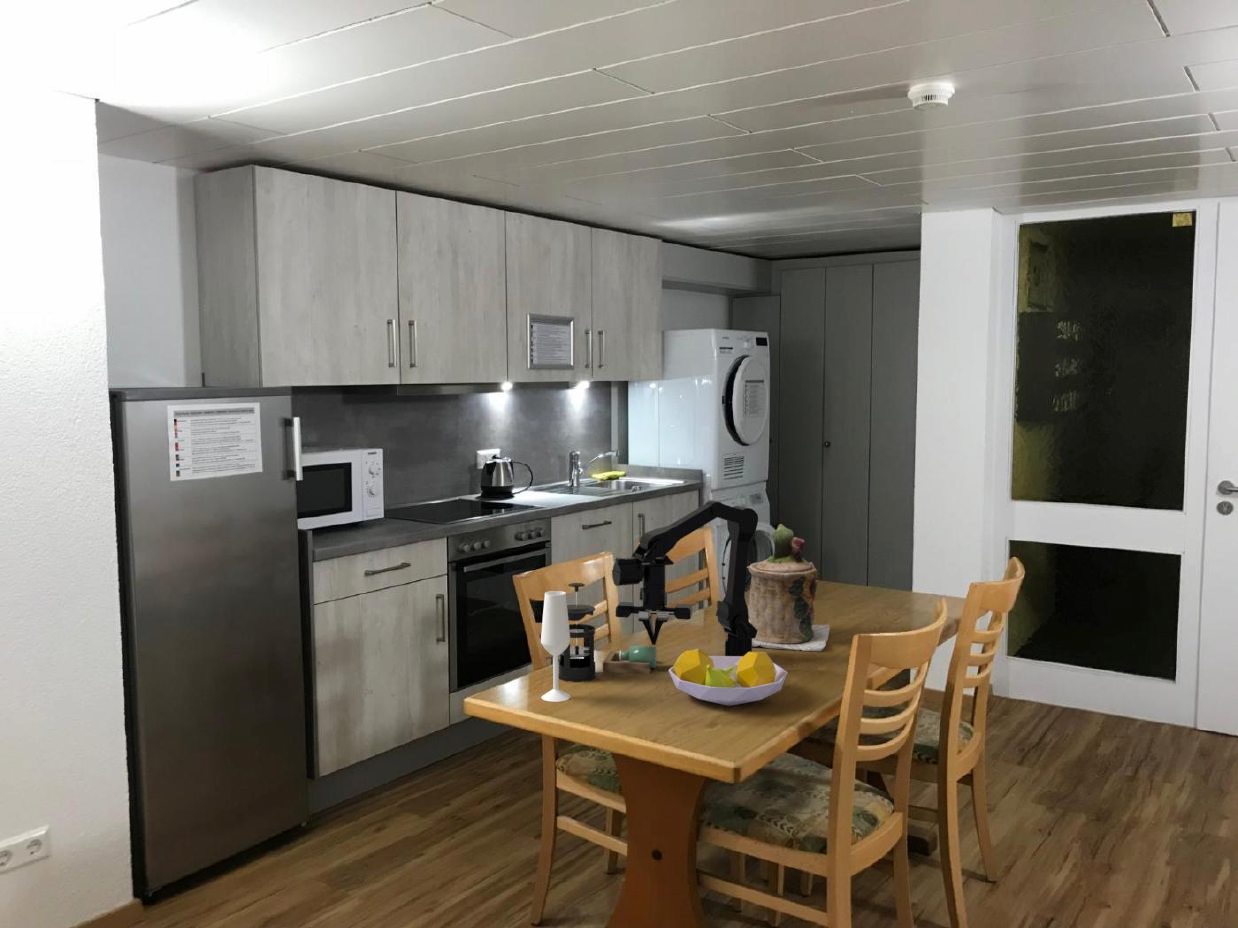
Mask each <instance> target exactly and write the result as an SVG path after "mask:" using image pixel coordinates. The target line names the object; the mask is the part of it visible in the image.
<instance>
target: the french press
mask: <svg viewBox="0 0 1238 928" xmlns="http://www.w3.org/2000/svg"><path fill="white" fill-rule="evenodd" d="M567 586H568V587H571V588H574V592H575V604H567V611H568V621H571V622H575V623H569V632H570V639H575V643H576V644H575V646H571V643H570V644H569V645H568V647H567V648H566V649H565V650H564V651H563V652H562V653H561V654H560V655H558V680H561V681H563V682H568V681H573V682H572V683H582V682H581V681H584V682H590V681H592V680H594V679H596V678H597V673H596V661H595V635H596V626H594V625H591V624H586V623H585V624H584V623H578V622H579V621H581V620H582V619H584V618H585V617H586V616H587V615H589V616H591V617H592V616H594V612H595V611H596V607H595V606H593V605H588V604H578V592H579V591H580V588H582V587H586V584H585V583H582V582H571V583H569V584H567ZM570 630H572V631H573V630H576V631H575V632H571V631H570ZM579 630H583V631H581V632H578V631H579ZM582 638H583V646H582V645H580V646H579V645H578V643H579V641H578V640H579V639H582Z"/></svg>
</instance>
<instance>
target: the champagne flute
mask: <svg viewBox="0 0 1238 928" xmlns="http://www.w3.org/2000/svg"><path fill="white" fill-rule="evenodd" d="M567 605H568V603H567V593H566V592H565V591H562V590H556V591H555V590H554V591H553V590H549V591H546V592H544V600H543V612H542V623H541V634H540V635H541V636H540V643H541V645H542V647H543V648H544V650H545V651H547V653H549V655H552V660H553V661H552V669H553V670H552V672H553V673H552V677H553V678H552V680H553V683H552V684H553V687H552V689H551V690H550V691H547V692H546V693H544V695H541V699H542V700H543V701H546V702H554V703H555V702H557V703H558V702H559V703H560V702H565V701H568V700H569V698H570V699H571V697H570V696H571V695H570V694H568V693H567V692H566V691H565V692H564V691H563V690H561V688H560V687H559V678H558V674H559V663H558V655H559V656H560V654H561V653H562V652H563V651H564V650H565V649H566V648H567V647H568V645H569V644H570V645H571V638H570V632H571V631H570V630H569V624H570V623H569V620H568V611H567Z"/></svg>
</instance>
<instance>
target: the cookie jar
mask: <svg viewBox="0 0 1238 928" xmlns="http://www.w3.org/2000/svg"><path fill="white" fill-rule="evenodd" d="M771 536H772V538H773V545H774V547H773V552H774V553H773V554H772V555H771V556H769V557H768V558H767V559H764V560H763V561H759V562H754V563H753V562H752V564H750V565H749V567H748V572H749V573H750V574H751V580H750V581H751V582H750V586H749V587H750V588H749V596H748V604H747V607H748V615H749V622H750V623H751V624H752V625H753V626H754V627H755V628H756V629H757V634H756V637H755V638H752V647H762V648H766V649H775V650H776V649H777V650H788V651H789V650H790V651H799V650H802V652H809V651H819V652H822V651H823V650H824V648H825V647H826V646H827V641H828V640H829V634H830V630H831V628H830V625H829V624H813V623H814V620H815V612H816V611H815V608H814V601H815V600H816V596H817V595H816V593H817V586H818V582H817V578H818V575H819V572H818V570H817V568H816V567H815V564H814V563H813V562H812V561H810V562H808V561H807V560H805V558H803V557H802V555H801V554H800V553H802V552H804V551H805V547H806V542H805V540H804V539H803V538H800V537H796V536H794V532H793V529H790V528H787V527H786V526H785V525H783V524H781V523H780V524H779V525H777V528H776V530H775V531H774V532H772V534H771Z"/></svg>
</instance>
